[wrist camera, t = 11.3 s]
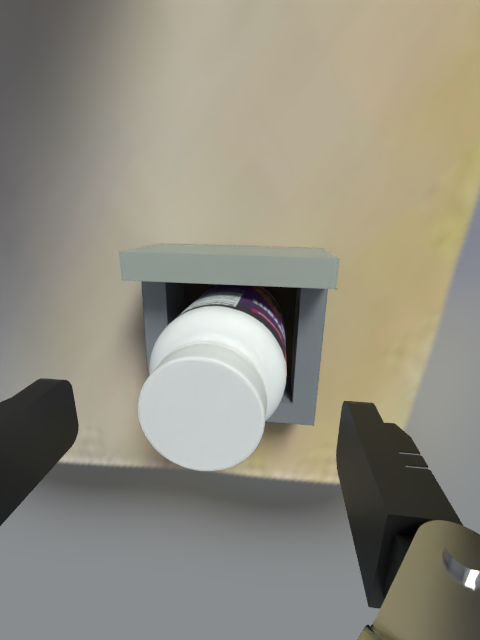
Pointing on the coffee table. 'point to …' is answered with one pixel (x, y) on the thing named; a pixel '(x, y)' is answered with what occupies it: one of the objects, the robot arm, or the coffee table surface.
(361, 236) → the coffee table surface
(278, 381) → the pill bottle
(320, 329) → the dock
